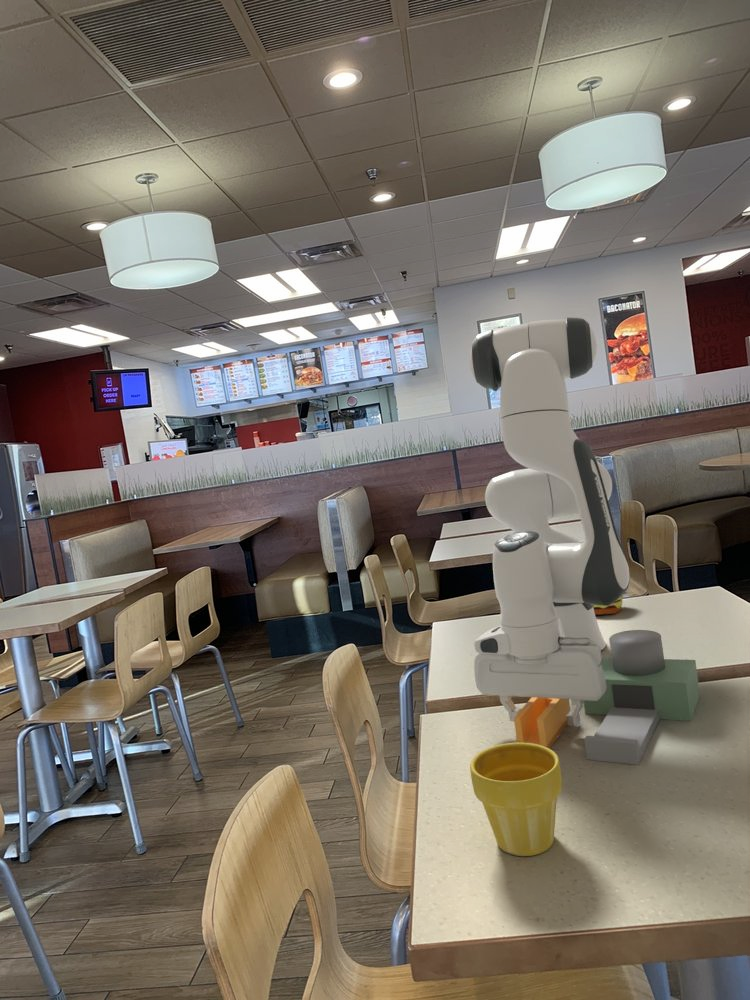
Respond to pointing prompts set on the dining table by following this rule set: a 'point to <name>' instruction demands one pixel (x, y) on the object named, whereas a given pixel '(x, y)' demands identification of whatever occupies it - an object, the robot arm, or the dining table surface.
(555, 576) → the robot arm
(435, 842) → the dining table surface
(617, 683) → the green coffee machine
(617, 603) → the cheeseburger
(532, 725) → the chute
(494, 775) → the plant pot
